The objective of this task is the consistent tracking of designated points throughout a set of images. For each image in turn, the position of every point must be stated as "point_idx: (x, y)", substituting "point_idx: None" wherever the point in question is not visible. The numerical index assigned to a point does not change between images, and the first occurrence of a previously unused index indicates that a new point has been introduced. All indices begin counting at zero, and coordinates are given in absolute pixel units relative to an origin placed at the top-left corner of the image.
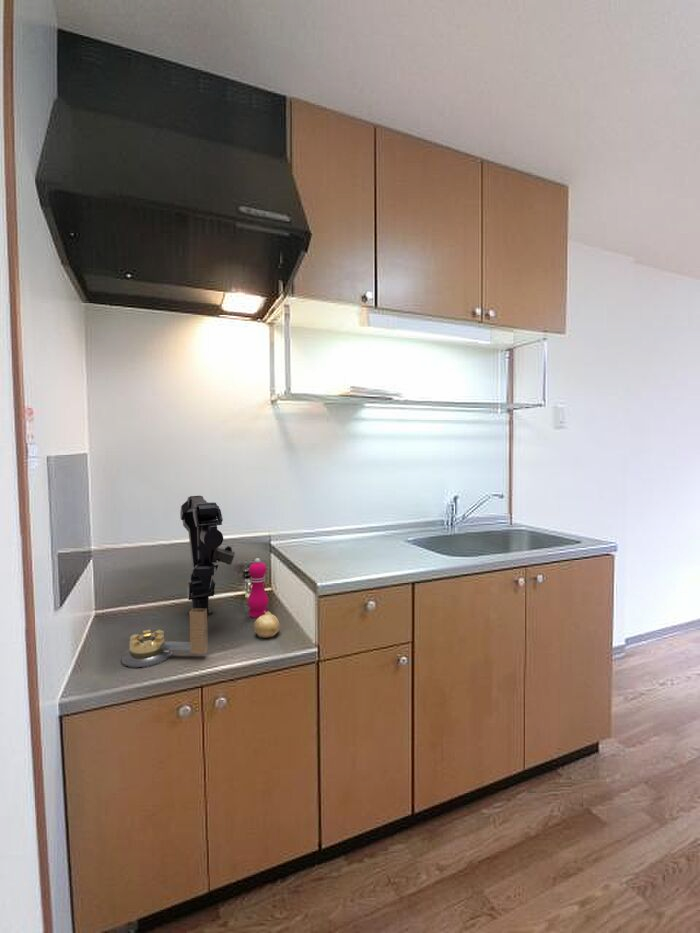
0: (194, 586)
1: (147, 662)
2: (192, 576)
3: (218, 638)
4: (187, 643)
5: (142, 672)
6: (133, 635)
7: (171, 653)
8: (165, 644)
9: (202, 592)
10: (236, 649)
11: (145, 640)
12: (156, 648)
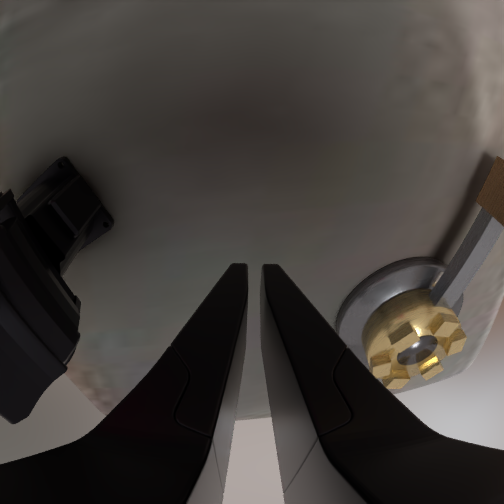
0: (61, 345)
1: (459, 306)
2: (29, 406)
3: (367, 96)
4: (490, 235)
5: (469, 300)
6: (392, 386)
7: (428, 260)
8: (457, 297)
9: (47, 268)
10: (476, 45)
11: (421, 352)
12: (453, 311)
